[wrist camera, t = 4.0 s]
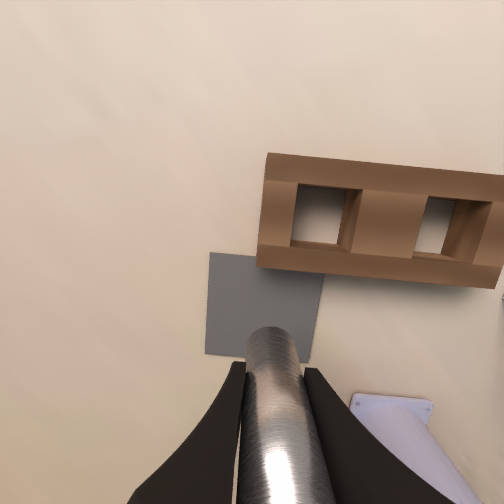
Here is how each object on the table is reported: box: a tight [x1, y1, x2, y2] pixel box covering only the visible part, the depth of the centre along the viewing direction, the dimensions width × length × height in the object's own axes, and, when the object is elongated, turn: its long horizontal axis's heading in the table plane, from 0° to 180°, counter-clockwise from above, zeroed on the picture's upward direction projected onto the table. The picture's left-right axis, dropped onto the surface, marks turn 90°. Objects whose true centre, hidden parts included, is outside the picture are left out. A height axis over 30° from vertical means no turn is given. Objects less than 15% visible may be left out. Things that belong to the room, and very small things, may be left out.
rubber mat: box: [205, 252, 324, 363], centre depth 21 cm, size 10×10×1 cm
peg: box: [236, 326, 336, 504], centre depth 10 cm, size 3×3×9 cm
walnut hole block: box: [256, 153, 504, 289], centre depth 18 cm, size 8×18×3 cm, turn 85°
